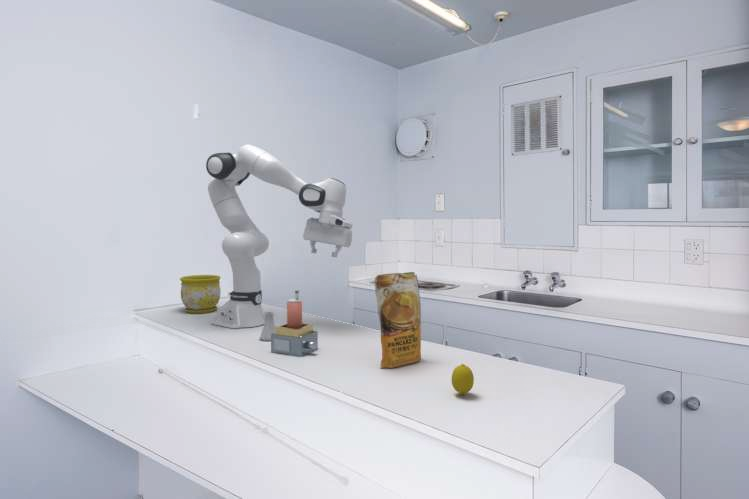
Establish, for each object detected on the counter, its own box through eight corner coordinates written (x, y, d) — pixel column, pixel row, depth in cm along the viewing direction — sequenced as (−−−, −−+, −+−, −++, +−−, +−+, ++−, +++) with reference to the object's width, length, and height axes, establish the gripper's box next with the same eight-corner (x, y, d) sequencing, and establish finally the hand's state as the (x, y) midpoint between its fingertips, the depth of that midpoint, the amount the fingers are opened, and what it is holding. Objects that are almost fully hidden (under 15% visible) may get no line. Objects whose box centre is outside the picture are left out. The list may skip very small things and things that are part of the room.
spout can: (284, 333, 157) (283, 291, 156) (292, 330, 162) (292, 289, 161) (296, 335, 155) (296, 292, 154) (305, 332, 160) (304, 290, 159)
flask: (274, 342, 169) (274, 314, 169) (255, 340, 171) (255, 313, 170) (282, 337, 176) (282, 310, 176) (264, 336, 178) (264, 310, 177)
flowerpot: (228, 308, 231) (228, 275, 230) (204, 316, 213) (204, 280, 212) (197, 306, 236) (197, 274, 235) (172, 313, 219) (171, 278, 218)
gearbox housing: (270, 352, 156) (270, 327, 156) (288, 344, 166) (288, 321, 165) (309, 358, 150) (309, 331, 150) (325, 349, 160) (325, 325, 159)
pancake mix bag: (367, 365, 143) (368, 274, 141) (415, 355, 154) (415, 270, 152) (381, 371, 137) (382, 276, 135) (429, 360, 149) (430, 272, 147)
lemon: (477, 394, 120) (478, 363, 119) (466, 400, 116) (466, 368, 115) (458, 389, 123) (459, 359, 123) (447, 395, 119) (447, 364, 119)
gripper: (303, 215, 185) (297, 250, 185) (348, 222, 176) (342, 258, 176) (311, 217, 191) (305, 251, 190) (356, 224, 182) (349, 259, 182)
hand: (323, 255), depth 183 cm, fingers open, 8 cm apart
